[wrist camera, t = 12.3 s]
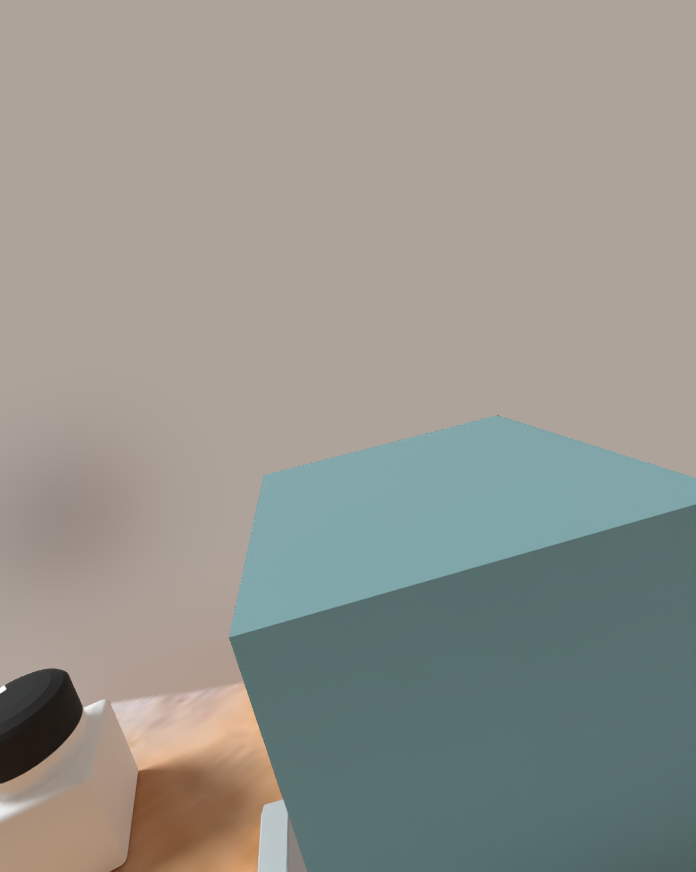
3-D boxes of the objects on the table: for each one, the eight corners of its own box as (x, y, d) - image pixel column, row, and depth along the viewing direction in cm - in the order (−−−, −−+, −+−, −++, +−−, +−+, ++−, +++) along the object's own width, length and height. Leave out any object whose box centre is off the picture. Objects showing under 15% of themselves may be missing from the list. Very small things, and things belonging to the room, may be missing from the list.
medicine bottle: (140, 769, 34) (85, 640, 31) (128, 865, 27) (57, 711, 25) (38, 818, 32) (-30, 684, 29) (-2, 935, 25) (-95, 776, 23)
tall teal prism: (478, 1383, 7) (229, 636, 4) (400, 954, 12) (263, 475, 9) (758, 1258, 7) (739, 491, 4) (570, 893, 12) (497, 415, 9)
